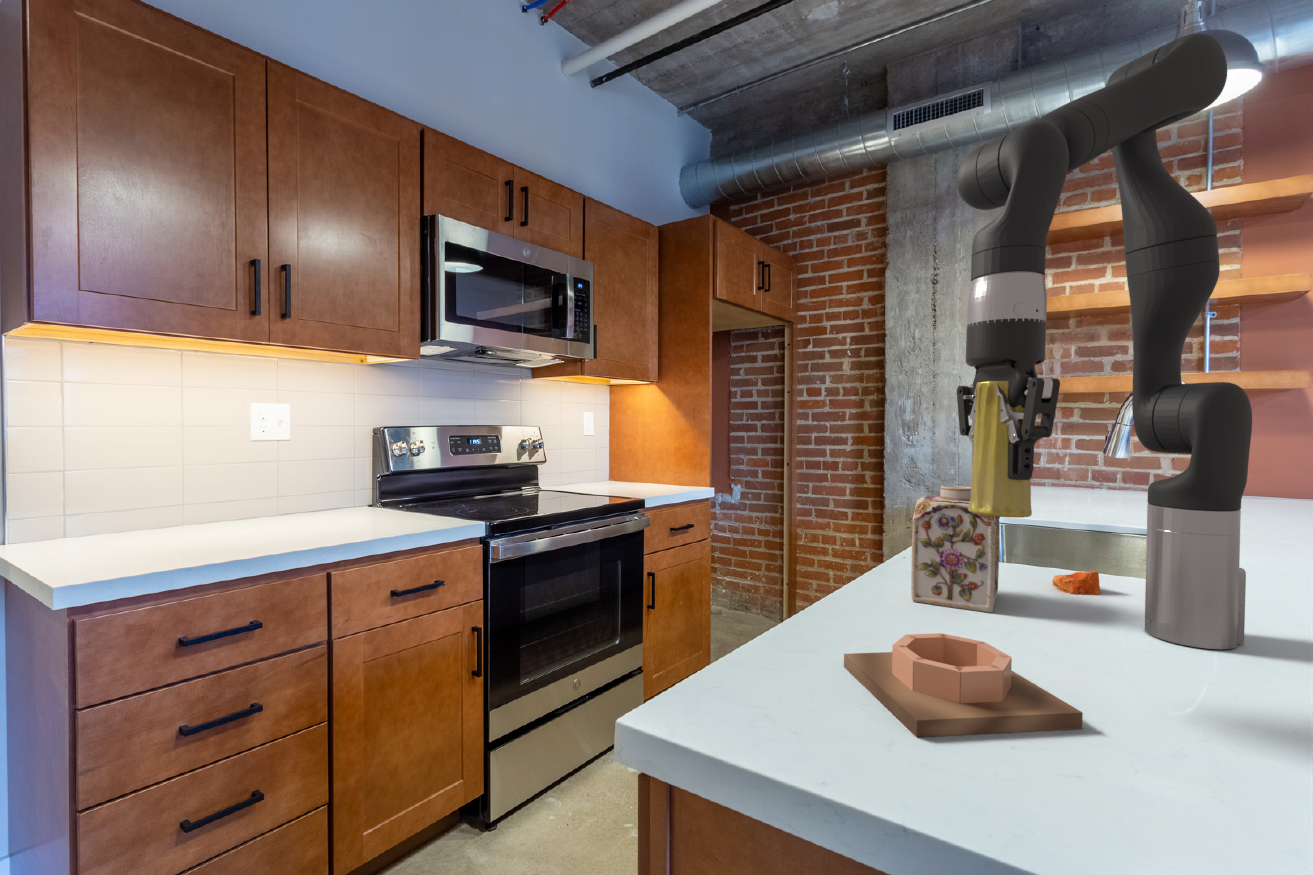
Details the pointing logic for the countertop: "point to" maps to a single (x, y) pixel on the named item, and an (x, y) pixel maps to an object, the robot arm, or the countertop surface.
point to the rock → (1078, 583)
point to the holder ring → (952, 667)
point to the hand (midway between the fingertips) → (1000, 476)
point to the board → (961, 704)
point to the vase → (995, 460)
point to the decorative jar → (954, 552)
